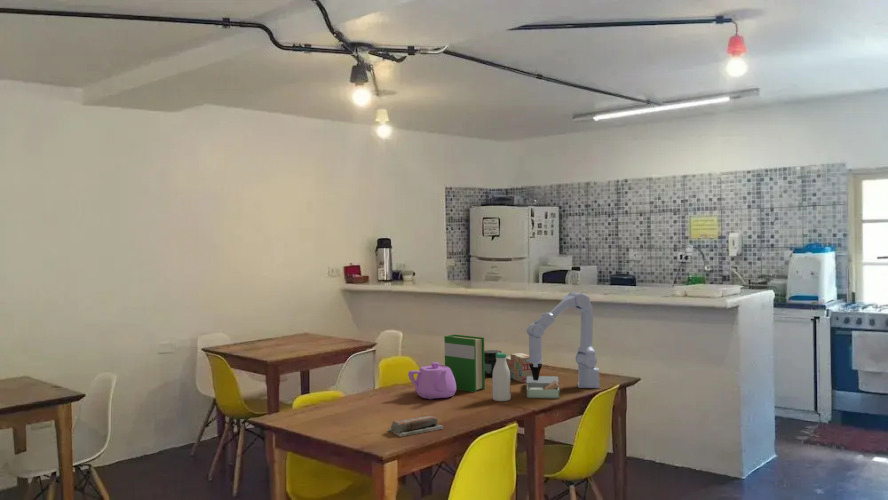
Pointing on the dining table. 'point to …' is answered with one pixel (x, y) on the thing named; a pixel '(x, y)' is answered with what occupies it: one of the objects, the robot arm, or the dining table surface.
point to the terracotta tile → (551, 386)
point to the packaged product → (415, 425)
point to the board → (541, 381)
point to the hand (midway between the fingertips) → (535, 380)
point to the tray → (542, 393)
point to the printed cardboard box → (519, 367)
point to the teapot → (434, 381)
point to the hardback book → (466, 361)
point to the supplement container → (490, 361)
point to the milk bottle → (501, 379)
